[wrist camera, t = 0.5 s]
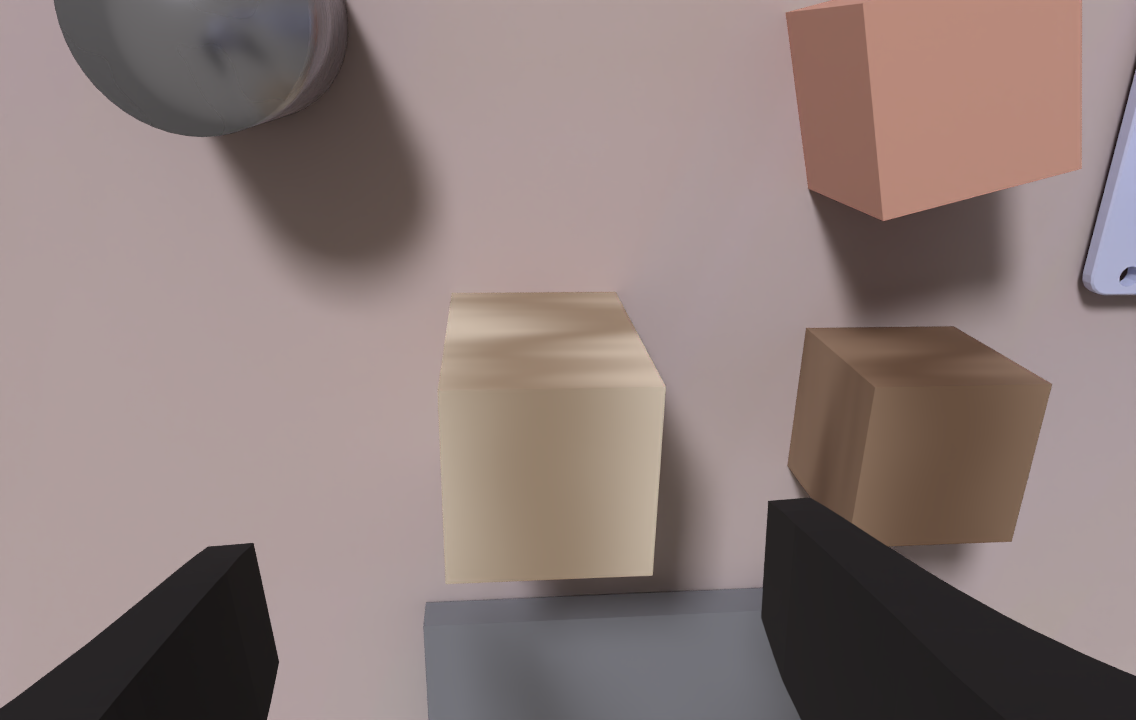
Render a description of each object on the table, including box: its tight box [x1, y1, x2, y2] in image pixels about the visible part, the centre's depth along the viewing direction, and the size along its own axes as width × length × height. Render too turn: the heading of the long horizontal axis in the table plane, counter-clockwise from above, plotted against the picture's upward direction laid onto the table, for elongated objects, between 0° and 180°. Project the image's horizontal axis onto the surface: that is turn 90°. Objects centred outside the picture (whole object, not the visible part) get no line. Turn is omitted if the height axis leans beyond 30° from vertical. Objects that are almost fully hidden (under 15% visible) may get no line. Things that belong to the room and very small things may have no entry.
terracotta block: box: [786, 0, 1082, 221], centre depth 17 cm, size 4×4×4 cm
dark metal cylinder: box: [54, 0, 348, 137], centre depth 15 cm, size 4×4×4 cm
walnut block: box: [787, 326, 1052, 546], centre depth 20 cm, size 4×4×4 cm
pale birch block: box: [438, 292, 666, 584], centre depth 17 cm, size 4×4×6 cm
